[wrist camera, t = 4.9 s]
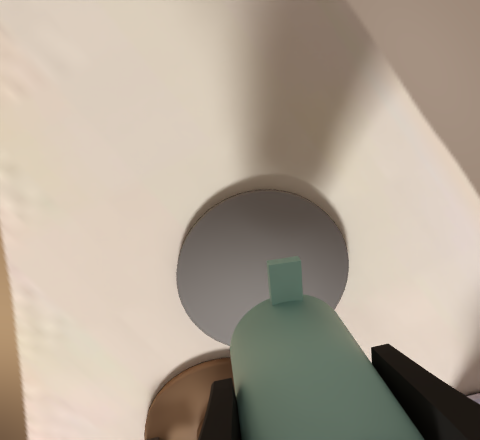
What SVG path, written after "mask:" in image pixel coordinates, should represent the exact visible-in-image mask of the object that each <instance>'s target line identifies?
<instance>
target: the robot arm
mask: <svg viewBox="0 0 480 440" xmlns="http://www.w3.org/2000/svg"><path fill="white" fill-rule="evenodd" d="M371 353H372V365H373V366H374V368H375V369H376V371H377V372H378V373H379V375H380V376H381V378H382V379H383V381H384V382H385V383H386V385H387V386H388V388H389V389H390V391H391V392H392V393H393V395H394V396H395V398H396V399H397V401H398V402H399V403H400V405H401V406H402V408H403V409H404V411H405V412H406V413H407V415H408V416H409V418H410V419H411V421H412V422H413V424H414V425H415V426H416V428H417V429H418V431H419V432H420V434H421V435H422V436H423V438H424V439H425V440H480V393H479V394H474V395H470V396H465V395H463V394H462V393H460V392H459V391H457V390H455V389H454V388H452V387H451V386H449V385H448V384H446V383H445V382H443V381H442V380H440V379H439V378H437V377H436V376H434V375H433V374H431V373H430V372H428V371H427V370H425V369H424V368H422V367H421V366H420V365H418V364H417V363H415V362H414V361H412V360H411V359H409V358H408V357H407V356H405V355H404V354H402V353H401V352H399V351H398V350H397V349H395V348H394V347H392V346H391V345H389V344H385V345H380V346H375V347H371ZM198 440H241V432H240V424H239V416H238V408H237V400H236V395H235V390H234V386H233V381H232V378H227V379H223V380H218V381H214V382H213V383H212V385H211V391H210V396H209V401H208V405H207V410H206V413H205V417H204V421H203V424H202V428H201V431H200V434H199V437H198Z"/></svg>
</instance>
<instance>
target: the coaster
mask: <svg viewBox="0 0 480 440" xmlns="http://www.w3.org/2000/svg"><path fill="white" fill-rule="evenodd" d="M295 256H298V257H299V258H300V260H301V268H302V288H303V294H304V295H309V296H313V297H316V298H318V299H320V300H322V301H324V302H325V303H327V304H328V305H329V306H330V307H332V309H333V310H334V309H335V308H336V306H337V304H338V303H339V301H340V299H341V297H342V294H343V292H344V290H345V286H346V283H347V278H348V271H349V260H348V253H347V248H346V245H345V241H344V239H343V237H342V234H341V232H340V230H339V229H338V227H337V226H336V224H335V223H334V221H333V220H332V219H331V218H330V217H329V216H328V215H327V214H326V213H325V212H324V211H323V210H321V209H320V208H319V207H318V206H316V205H315V204H313V203H312V202H310V201H309V200H307V199H305V198H303V197H301V196H298V195H296V194H292V193H289V192H285V191H279V190H255V191H248V192H244V193H240V194H237V195H235V196H232V197H230V198H227V199H225V200H223V201H222V202H220V203H218V204H216V205H215V206H214V207H212V208H211V209H209V210H208V211H207V212H206V213H205V214H204V215H203V216H202V217H201V218H199V219H198V221H197V222H196V223H195V224H194V226H193V227H192V228H191V230H190V231H189V233H188V235H187V237H186V238H185V241H184V243H183V245H182V248H181V251H180V255H179V259H178V265H177V273H176V274H177V288H178V294H179V297H180V300H181V303H182V305H183V307H184V309H185V311H186V313H187V314H188V316H189V317H190V319H191V320H192V322H193V323H194V324H195V325H196V326H197V327H198V328H199V329H200V330H202V331H203V332H204V333H205V334H206V335H208V336H210V337H211V338H213V339H215V340H216V341H219V342H221V343H223V344H225V345H229V346H230V343H231V338H232V335H233V332H234V330H235V328H236V326H237V324H238V323H239V321H240V320H241V319H242V318H243V316H244V315H245V314H246V313H247V312H248V311H249V310H251V309H252V308H253V307H255V306H256V305H258V304H259V303H261V302H263V301H265V300H267V299H269V298H270V296H269V284H268V273H267V261H268V260H275V259H281V258H288V257H295Z"/></svg>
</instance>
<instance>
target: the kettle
mask: <svg viewBox="0 0 480 440" xmlns="http://www.w3.org/2000/svg"><path fill="white" fill-rule="evenodd" d="M267 273H268V284H269V296H270V298H269V299H267V300H265V301H263V302H261V303H259V304H258V305H256V306H255V307H253V308H252V309H251V310H249V311H248V312H247V313H246V314H245V315H244V316H243V318H242V319H241V320H240V321H239V323H238V324H237V326H236V328H235V330H234V332H233V335H232V338H231V343H230V356H231V364H232V372H233V379H234V387H235V394H236V400H237V408H238V416H239V424H240V432H241V440H425V439H424V438H423V436H422V435H421V434H420V432H419V431H418V429H417V428H416V426H415V425H414V424H413V422H412V421H411V419H410V418H409V416H408V415H407V413H406V412H405V411H404V409H403V408H402V406H401V405H400V403H399V402H398V401H397V399H396V398H395V396H394V395H393V393H392V392H391V391H390V389H389V388H388V386H387V385H386V383H385V382H384V381H383V379H382V378H381V376H380V375H379V373H378V372H377V371H376V369H375V368H374V366H373V365H372V363H371V362H370V361H369V359H368V358H367V356H366V355H365V353H364V352H363V351H362V349H361V348H360V346H359V345H358V343H357V342H356V340H355V339H354V338H353V336H352V335H351V333H350V332H349V330H348V329H347V328H346V326H345V325H344V323H343V322H342V320H341V319H340V318H339V316H338V315H337V313H336V312H335V311H334V310H333V309H332V307H330V306H329V305H328V304H327V303H325V302H324V301H322V300H320V299H318V298H316V297H313V296H309V295H304V294H303V288H302V268H301V260H300V258H299V257H298V256H295V257H288V258H281V259H275V260H268V261H267Z"/></svg>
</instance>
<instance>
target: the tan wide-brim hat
mask: <svg viewBox="0 0 480 440" xmlns="http://www.w3.org/2000/svg"><path fill="white" fill-rule="evenodd" d="M227 378H232V381H233V386H234V379H233V372H232V364H231V358H221V359H215V360H211V361H207V362H203V363H200V364H198V365H195V366H193V367H191V368H189V369H187V370H185V371H183V372H181V373H180V374H178V375H177V376H175V377H174V378H173V379H171V380H170V381H169V382H168V383H167V384H166V385H165V386H164V387H163V388H162V389H161V390H160V391H159V393H158V394H157V396H156V397H155V399H154V400H153V402H152V404H151V406H150V409H149V412H148V415H147V419H146V425H145V433H144V436H145V440H198V437H199V434H200V431H201V428H202V424H203V421H204V417H205V413H206V410H207V405H208V401H209V396H210V391H211V385H212V383H213V382H214V381H218V380H223V379H227ZM234 390H235V387H234ZM235 395H236V394H235Z"/></svg>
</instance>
